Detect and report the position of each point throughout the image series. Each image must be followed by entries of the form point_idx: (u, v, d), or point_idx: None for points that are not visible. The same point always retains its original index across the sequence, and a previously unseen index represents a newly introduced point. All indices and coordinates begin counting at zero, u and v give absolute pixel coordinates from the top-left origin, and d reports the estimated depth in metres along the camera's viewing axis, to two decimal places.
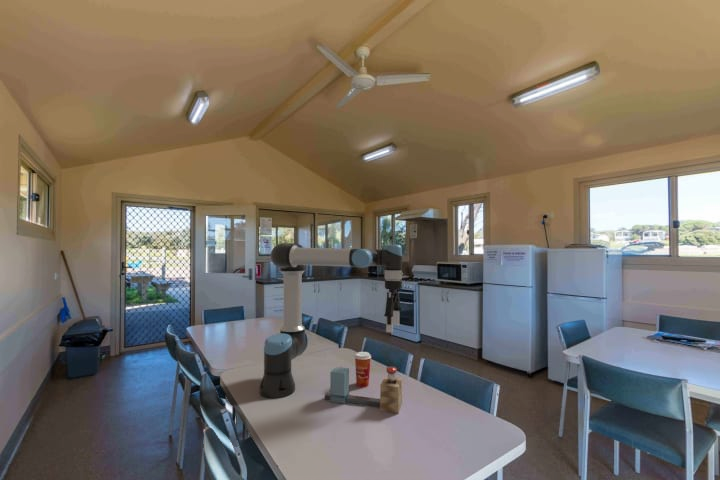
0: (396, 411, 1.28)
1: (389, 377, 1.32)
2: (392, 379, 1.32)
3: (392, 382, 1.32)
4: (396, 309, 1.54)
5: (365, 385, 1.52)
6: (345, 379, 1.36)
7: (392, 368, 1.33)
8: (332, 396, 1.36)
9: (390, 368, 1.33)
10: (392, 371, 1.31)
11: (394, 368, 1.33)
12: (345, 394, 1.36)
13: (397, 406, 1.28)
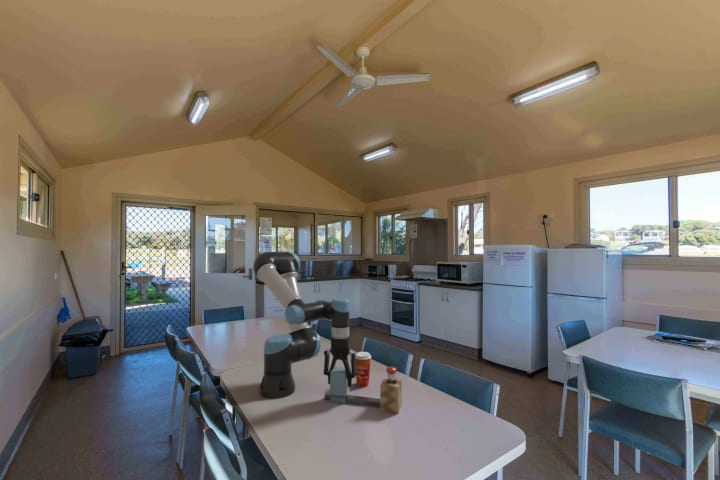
0: (396, 411, 1.28)
1: (389, 377, 1.32)
2: (392, 379, 1.32)
3: (392, 382, 1.32)
4: None
5: (365, 385, 1.52)
6: (345, 379, 1.36)
7: (392, 368, 1.33)
8: (332, 396, 1.36)
9: (390, 368, 1.33)
10: (392, 371, 1.31)
11: (394, 368, 1.33)
12: (345, 394, 1.36)
13: (397, 406, 1.28)
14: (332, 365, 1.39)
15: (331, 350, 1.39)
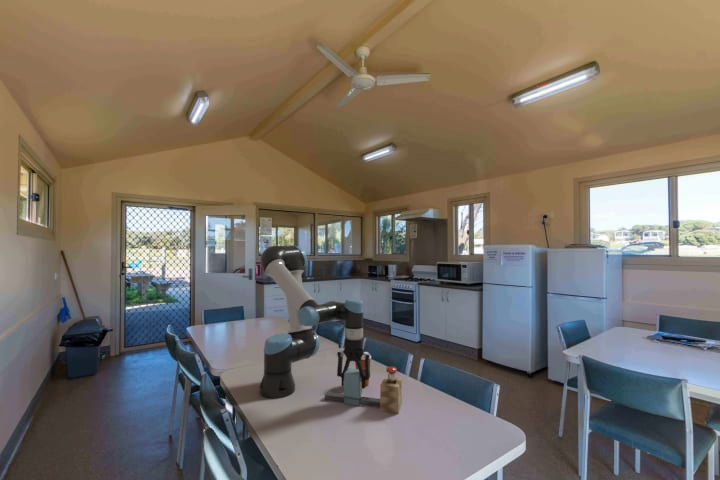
0: (396, 411, 1.28)
1: (389, 377, 1.32)
2: (392, 379, 1.32)
3: (392, 382, 1.32)
4: None
5: None
6: (359, 381, 1.35)
7: (392, 368, 1.33)
8: (346, 398, 1.35)
9: (390, 368, 1.33)
10: (392, 371, 1.31)
11: (394, 368, 1.33)
12: (359, 396, 1.35)
13: (397, 406, 1.28)
14: (346, 366, 1.37)
15: (345, 351, 1.37)
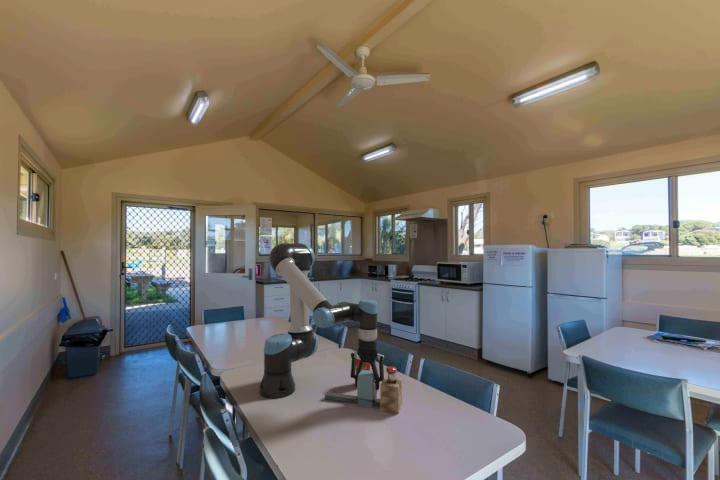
0: (396, 411, 1.28)
1: (389, 377, 1.32)
2: (392, 379, 1.32)
3: (392, 382, 1.32)
4: None
5: None
6: (373, 382, 1.33)
7: (392, 368, 1.33)
8: (359, 400, 1.33)
9: (390, 368, 1.33)
10: (392, 371, 1.31)
11: (394, 368, 1.33)
12: (373, 398, 1.33)
13: (397, 406, 1.28)
14: (359, 368, 1.35)
15: (358, 352, 1.36)
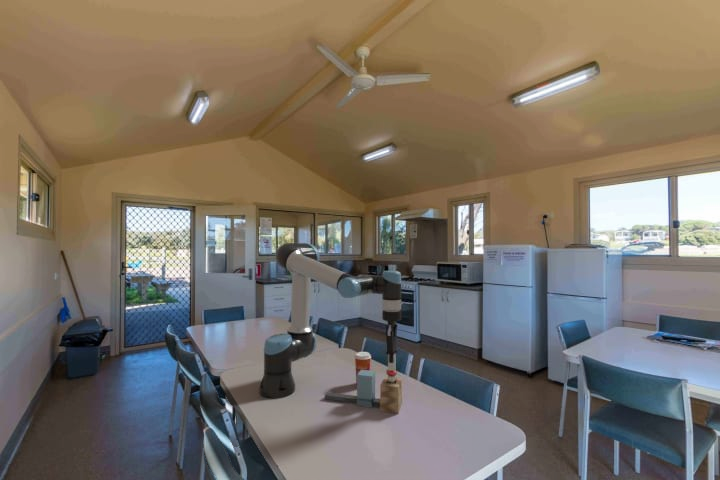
0: (396, 411, 1.28)
1: (389, 379, 1.32)
2: (392, 381, 1.32)
3: None
4: None
5: None
6: (372, 382, 1.33)
7: None
8: (359, 400, 1.33)
9: None
10: (392, 373, 1.31)
11: None
12: (372, 397, 1.33)
13: (397, 406, 1.28)
14: (394, 341, 1.32)
15: (393, 326, 1.30)
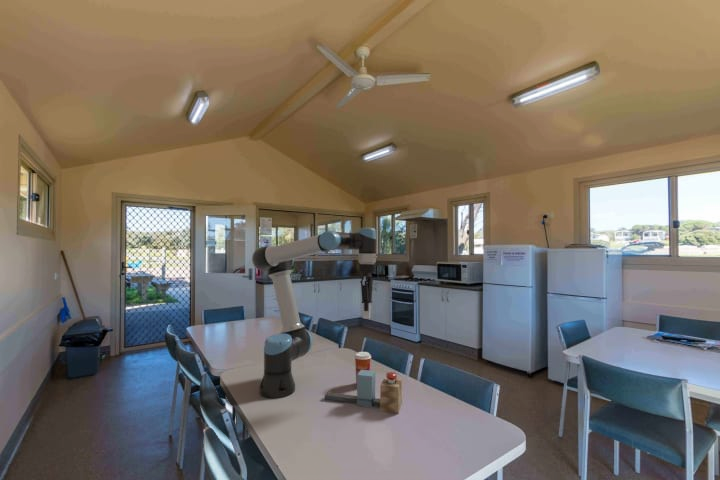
0: (396, 411, 1.28)
1: None
2: None
3: None
4: None
5: None
6: (372, 382, 1.33)
7: (392, 374, 1.33)
8: (359, 400, 1.33)
9: (390, 374, 1.33)
10: (392, 377, 1.31)
11: (394, 374, 1.33)
12: (372, 397, 1.33)
13: (397, 406, 1.28)
14: (369, 291, 1.45)
15: (367, 277, 1.43)
